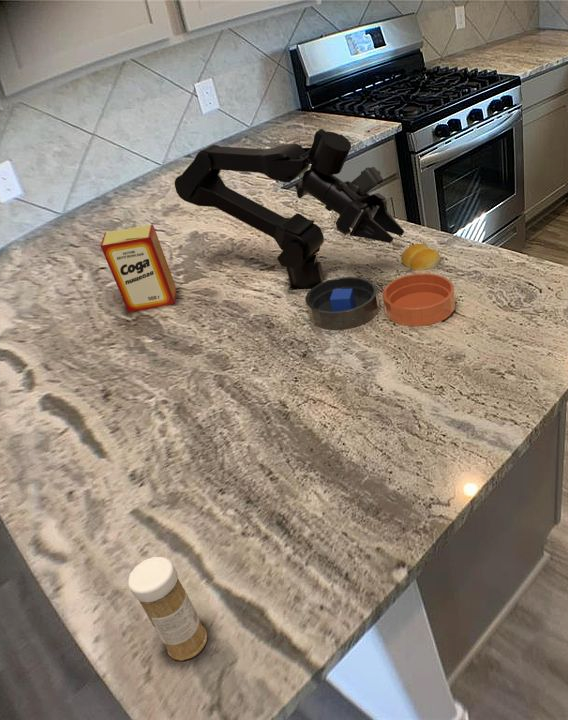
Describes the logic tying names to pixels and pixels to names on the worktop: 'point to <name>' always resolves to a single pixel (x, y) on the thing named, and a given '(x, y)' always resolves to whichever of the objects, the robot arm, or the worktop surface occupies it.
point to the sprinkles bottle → (168, 607)
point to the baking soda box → (139, 267)
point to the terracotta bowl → (419, 299)
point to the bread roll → (420, 257)
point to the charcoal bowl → (345, 319)
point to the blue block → (342, 300)
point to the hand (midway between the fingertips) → (397, 237)
